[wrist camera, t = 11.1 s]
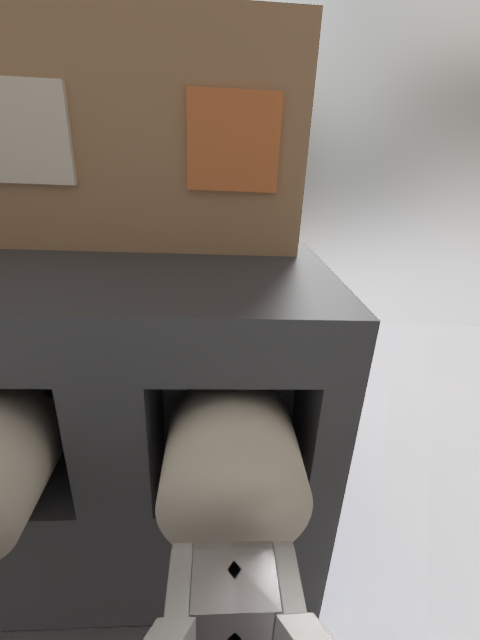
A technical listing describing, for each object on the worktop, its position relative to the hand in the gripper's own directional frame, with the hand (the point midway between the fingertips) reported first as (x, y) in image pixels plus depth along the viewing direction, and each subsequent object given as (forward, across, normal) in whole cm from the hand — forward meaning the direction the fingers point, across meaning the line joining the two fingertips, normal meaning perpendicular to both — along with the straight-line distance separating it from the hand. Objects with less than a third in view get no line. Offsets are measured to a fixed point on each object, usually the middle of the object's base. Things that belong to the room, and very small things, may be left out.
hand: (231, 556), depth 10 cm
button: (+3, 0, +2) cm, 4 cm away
